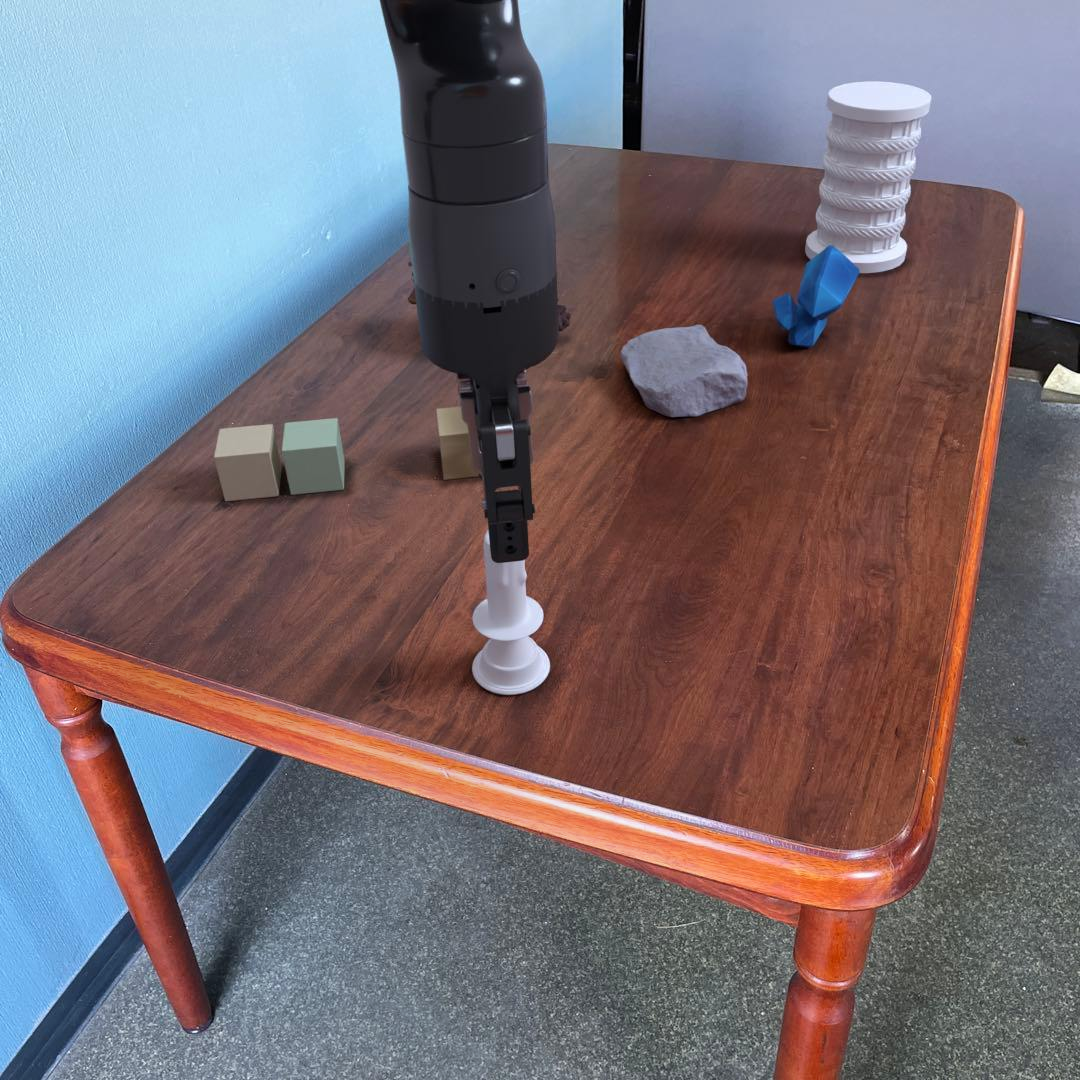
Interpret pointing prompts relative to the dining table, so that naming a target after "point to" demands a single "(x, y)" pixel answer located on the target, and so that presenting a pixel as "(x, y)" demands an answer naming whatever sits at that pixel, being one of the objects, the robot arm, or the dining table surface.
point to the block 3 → (454, 444)
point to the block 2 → (313, 456)
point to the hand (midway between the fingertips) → (502, 515)
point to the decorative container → (868, 172)
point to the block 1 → (248, 462)
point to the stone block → (684, 371)
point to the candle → (508, 631)
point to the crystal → (816, 296)
